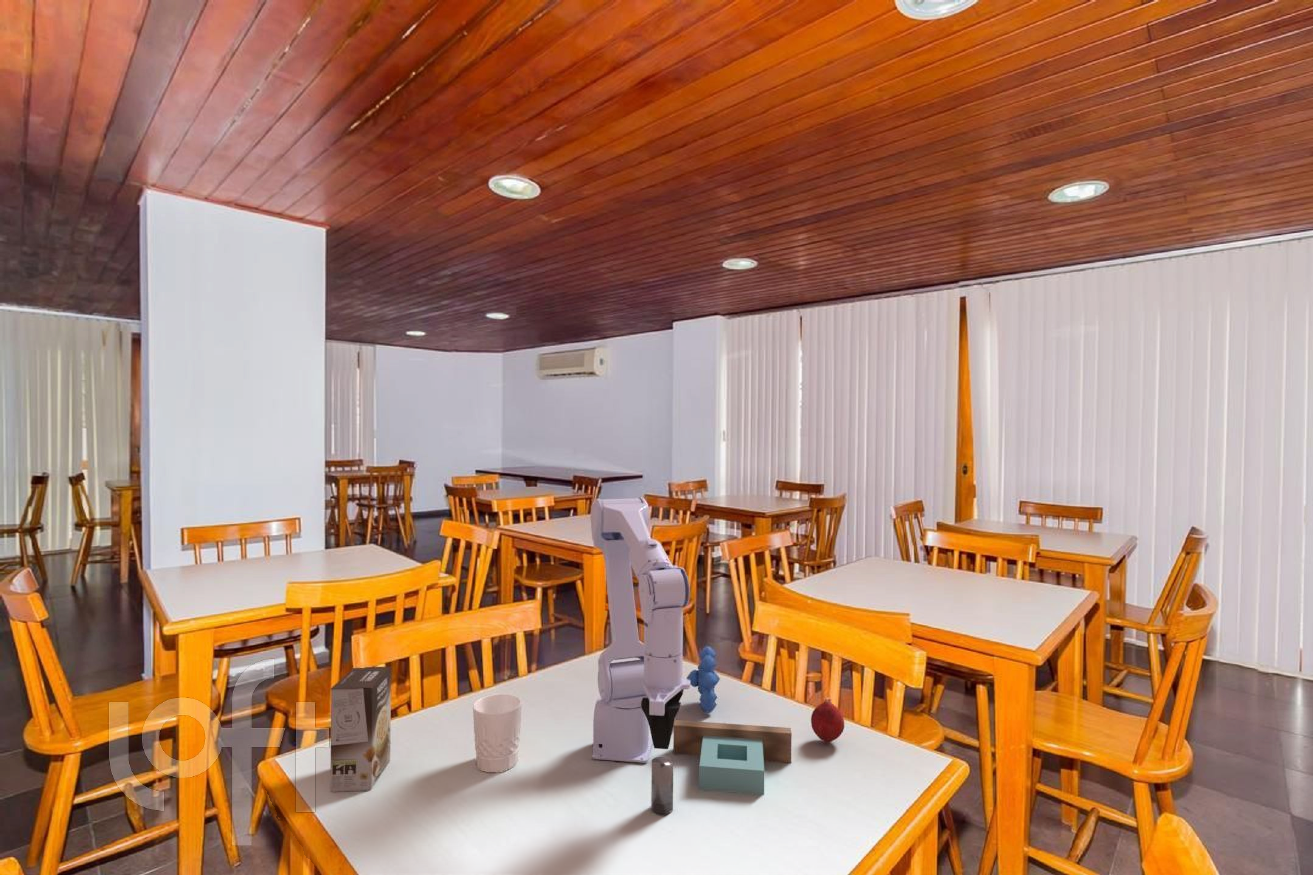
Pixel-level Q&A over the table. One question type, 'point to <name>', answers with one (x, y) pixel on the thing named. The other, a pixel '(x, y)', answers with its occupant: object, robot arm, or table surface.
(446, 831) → the table surface
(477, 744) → the white cup
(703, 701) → the grapes
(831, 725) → the onion
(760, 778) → the block
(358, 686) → the coffee box
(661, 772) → the dowel
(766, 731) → the wall
